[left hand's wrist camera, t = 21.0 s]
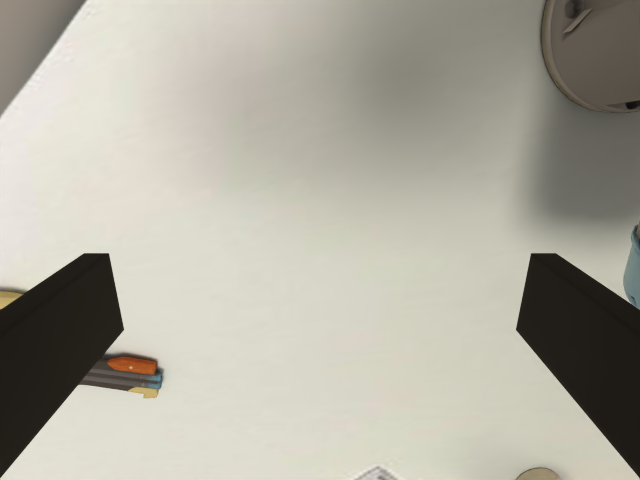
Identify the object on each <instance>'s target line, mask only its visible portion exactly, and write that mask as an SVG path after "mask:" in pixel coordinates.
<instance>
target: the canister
mask: <svg viewBox="0 0 640 480" xmlns="http://www.w3.org/2000/svg"><path fill="white" fill-rule="evenodd" d="M517 480H560V479H559V478H558V476H557V475H556V473H554V472H553V471H551V470H549V469H545V468H536V469H532V470H529V471H526V472H525V473H523V474H522V475H520V476H519V477H518V478H517Z"/></svg>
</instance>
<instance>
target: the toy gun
mask: <svg viewBox="0 0 640 480" xmlns="http://www.w3.org/2000/svg"><path fill="white" fill-rule="evenodd" d="M22 295H23V294H19V293H14V292H0V310H1V309H2V308H4V307H5V306H7V305H8V304H10V303H11V302H13V301H14V300H16V299H17V298H19V297H20V296H22ZM156 366H157V364H156V362H154V361H149V360H143V359H137V358H131V357H118V358H113V359H109V360H105V359H99V360H98V361H97V363H96V364H95V365H94V366H93V367H92V369H91V370H90V371H89V372H88V373H87V375H86V376H85V377H84V378H83V379H82V381H81V382H80V383H79V384H78V385H90V386H98V387H105V388H111V389H118V390H124V391H128V392H134V393H141V394H144V398H155V397H157V395H158V392H159V389H160V388H161V384H162V380H161V378H162V373H159V372H160V371H156Z"/></svg>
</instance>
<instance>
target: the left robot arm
mask: <svg viewBox="0 0 640 480" xmlns="http://www.w3.org/2000/svg"><path fill="white" fill-rule="evenodd" d="M542 48H543V55H544V59H545V63H546V66H547V69H548V71H549V73H550V75H551V77H552V79H553V81H554V82H555V84H556V85H557V86H558V88H559V89H560V90H561V91H562V92H563V93H564V94H565V95H566V96H567V97H568V98H570V99H571V100H572V101H574V102H575V103H577V104H579V105H581V106H583V107H586V108H589V109H592V110H596V111H602V112H617V113H626V112H635V111H640V0H547V2H546V6H545V10H544V15H543V22H542ZM631 240H632V247H631V250H630V254H629V258H628V262H627V265H626V269H625V273H624V278H623V284H624V290H625V293H626V296H627V297H628V299H629V301H630V302H631V304H630V303H629V302H627V301H626V300H624V299H623V298H621V297H620V296H618V295H617V294H615V293H614V292H612V291H611V290H609V289H608V288H607V287H605V286H604V285H602V284H601V283H599V282H598V281H596V280H595V279H593V278H592V277H590V276H589V275H587V274H586V273H584V272H583V271H581V270H580V269H578V268H577V267H575V266H574V265H572V264H571V263H569V262H568V261H566V260H565V259H563V258H562V257H560V256H559V255H557V254H556V253H531V257H530V262H529V267H528V272H527V277H526V282H525V287H524V292H523V297H522V302H521V307H520V312H519V317H518V322H517V327H516V330H517V332H518V333H519V334H520V335H521V336H522V338H523V339H524V340H525V341H526V342H527V344H528V345H529V346H530V347H531V348H532V350H533V351H534V352H535V353H536V354H537V356H538V357H539V358H540V359H541V360H542V361H543V363H544V364H545V365H546V366H547V367H548V369H549V370H550V371H551V372H552V373H553V375H554V376H555V377H556V378H557V379H558V381H559V382H560V383H561V384H562V385H563V387H564V388H565V389H566V390H567V391H568V393H569V394H570V395H571V396H572V397H573V399H574V400H575V401H576V402H577V403H578V405H579V406H580V407H581V408H582V409H583V411H584V412H585V413H586V414H587V415H588V417H589V418H590V419H591V420H592V421H593V423H594V424H595V425H596V426H597V427H598V429H599V430H600V431H601V432H602V433H603V435H604V436H605V437H606V438H607V439H608V441H609V442H610V443H611V444H612V445H613V447H614V448H615V449H616V450H617V451H618V453H619V454H620V455H621V456H622V457H623V459H624V460H625V461H626V462H627V463H628V465H629V466H630V467H631V468H632V469H633V471H634V472H635V473H636V474H637V475H638V477H639V478H640V222H639V224H638V225H635V227H634V229H633V231H632V235H631ZM123 330H124V327H123V322H122V317H121V312H120V307H119V302H118V297H117V292H116V287H115V282H114V277H113V272H112V267H111V262H110V257H109V253H84V254H83V255H81V256H80V257H78V258H77V259H75V260H74V261H72V262H71V263H69V264H68V265H66V266H65V267H63V268H62V269H60V270H59V271H57V272H56V273H54V274H53V275H51V276H50V277H48V278H47V279H45V280H44V281H42V282H41V283H39V284H38V285H36V286H35V287H33V288H32V289H31V290H29V291H28V292H26V293H25V294H23V295H22V296H20V297H19V298H17V299H16V300H14V301H13V302H11V303H10V304H8V305H7V306H5V307H4V308H2V309H1V310H0V478H1V477H2V475H3V474H4V473H5V472H6V471H7V469H8V468H9V467H10V466H11V465H12V463H13V462H14V461H15V460H16V459H17V457H18V456H19V455H20V454H21V453H22V451H23V450H24V449H25V448H26V447H27V445H28V444H29V443H30V442H31V441H32V439H33V438H34V437H35V436H36V435H37V433H38V432H39V431H40V430H41V429H42V427H43V426H44V425H45V424H46V423H47V421H48V420H49V419H50V418H51V417H52V415H53V414H54V413H55V412H56V411H57V409H58V408H59V407H60V406H61V405H62V403H63V402H64V401H65V400H66V399H67V397H68V396H69V395H70V394H71V393H72V391H73V390H74V389H75V388H76V387H77V385H78V384H79V383H80V382H81V381H82V379H83V378H84V377H85V376H86V375H87V373H88V372H89V371H90V370H91V369H92V367H93V366H94V365H95V364H96V363H97V361H98V360H99V359H100V358H101V357H102V356H103V354H104V353H105V352H106V351H107V350H108V348H109V347H110V346H111V345H112V344H113V342H114V341H115V340H116V339H117V338H118V336H119V335H120V334H121V333H122V332H123Z"/></svg>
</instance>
